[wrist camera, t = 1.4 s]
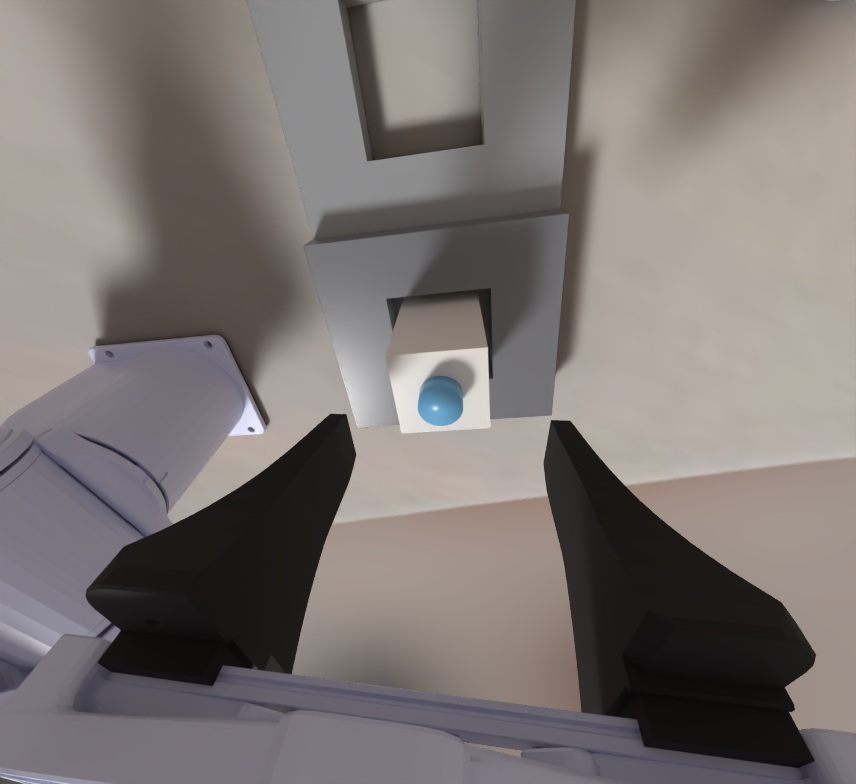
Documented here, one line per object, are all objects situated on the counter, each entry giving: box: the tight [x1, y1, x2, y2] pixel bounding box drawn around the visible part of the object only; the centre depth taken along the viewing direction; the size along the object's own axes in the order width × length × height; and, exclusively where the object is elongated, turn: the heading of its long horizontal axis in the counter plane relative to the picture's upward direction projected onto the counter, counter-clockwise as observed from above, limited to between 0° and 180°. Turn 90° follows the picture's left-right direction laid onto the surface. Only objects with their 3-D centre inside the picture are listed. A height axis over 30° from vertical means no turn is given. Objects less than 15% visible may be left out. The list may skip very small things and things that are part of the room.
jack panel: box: [247, 0, 576, 427], centre depth 17 cm, size 12×22×3 cm, turn 7°
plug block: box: [385, 290, 490, 433], centre depth 18 cm, size 4×4×8 cm
